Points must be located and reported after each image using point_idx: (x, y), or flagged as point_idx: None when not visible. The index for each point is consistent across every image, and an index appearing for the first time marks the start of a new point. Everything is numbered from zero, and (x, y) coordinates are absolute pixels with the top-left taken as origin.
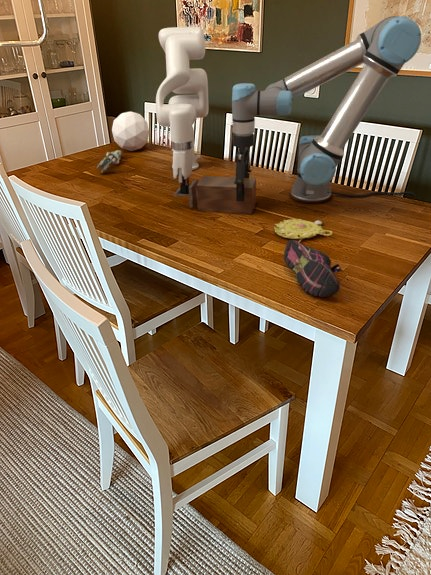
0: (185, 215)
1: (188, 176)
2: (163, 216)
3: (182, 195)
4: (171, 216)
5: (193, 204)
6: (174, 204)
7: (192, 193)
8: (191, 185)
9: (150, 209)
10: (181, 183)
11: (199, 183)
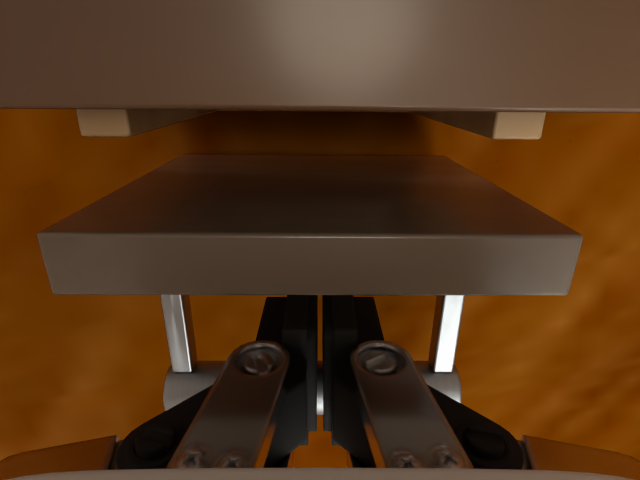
0: (569, 188)
1: (413, 468)
2: (576, 352)
3: (454, 317)
4: (581, 297)
5: (421, 159)
6: (322, 341)
7: (490, 194)
8: (477, 264)
9: None
10: (621, 464)
11: (571, 62)
